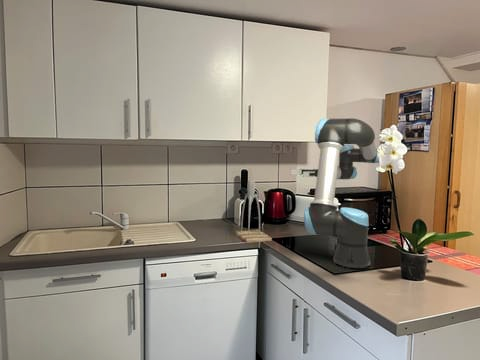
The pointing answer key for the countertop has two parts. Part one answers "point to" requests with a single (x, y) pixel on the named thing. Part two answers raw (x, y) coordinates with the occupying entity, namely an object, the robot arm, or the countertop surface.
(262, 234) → the trivet
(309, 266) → the countertop surface
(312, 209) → the robot arm
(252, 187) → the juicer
